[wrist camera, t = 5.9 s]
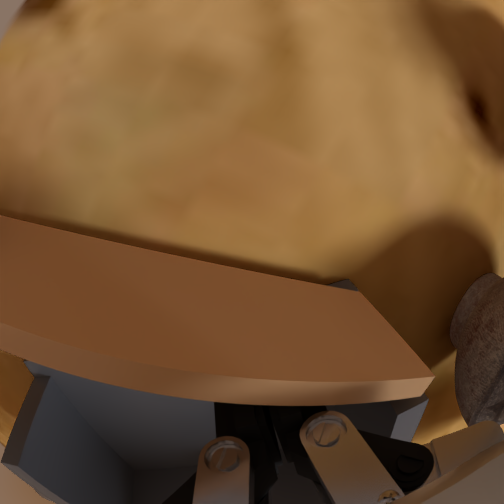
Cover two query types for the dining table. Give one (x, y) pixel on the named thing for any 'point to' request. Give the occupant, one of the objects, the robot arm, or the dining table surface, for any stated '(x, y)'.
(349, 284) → the grey open drawer box
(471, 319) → the pottery
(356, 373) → the door
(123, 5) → the dining table surface
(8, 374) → the dining table surface
